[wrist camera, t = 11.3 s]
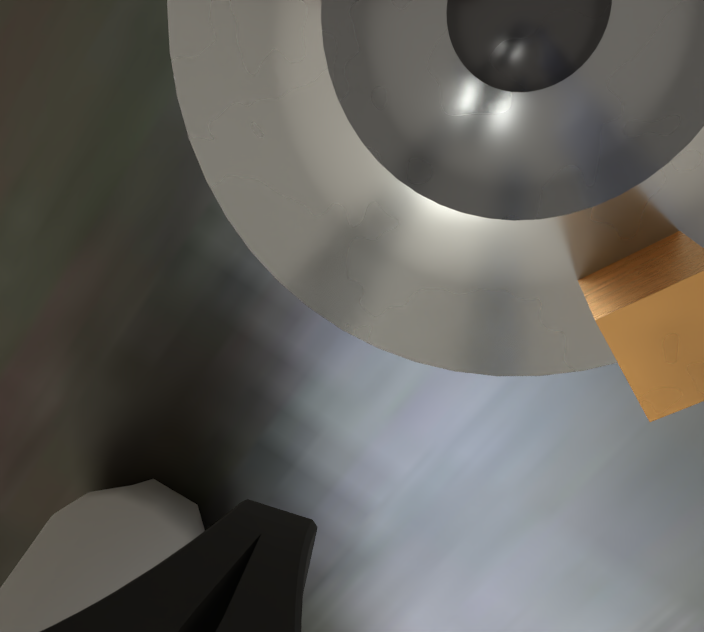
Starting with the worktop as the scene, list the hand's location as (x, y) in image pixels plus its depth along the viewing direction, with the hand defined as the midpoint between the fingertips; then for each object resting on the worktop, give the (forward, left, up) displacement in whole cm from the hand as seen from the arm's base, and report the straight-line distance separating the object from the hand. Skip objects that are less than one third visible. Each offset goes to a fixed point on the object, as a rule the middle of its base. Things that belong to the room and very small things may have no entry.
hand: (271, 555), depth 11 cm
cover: (-2, -10, -7) cm, 12 cm away
